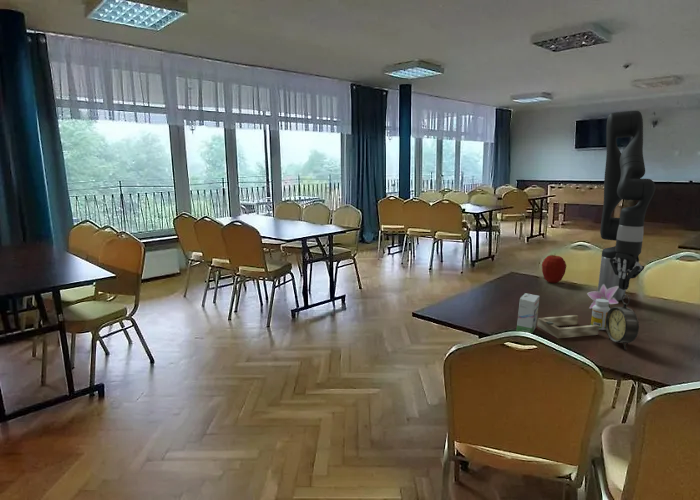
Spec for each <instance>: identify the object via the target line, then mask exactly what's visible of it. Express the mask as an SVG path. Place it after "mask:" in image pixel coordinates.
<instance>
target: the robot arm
mask: <svg viewBox="0 0 700 500" xmlns="http://www.w3.org/2000/svg"><path fill="white" fill-rule="evenodd" d="M620 138H631V140H630V141H629V143H628V144H627V146H626V147H624V150H623V151H622V152H621V151H620V148H619V146H618V144H617V139H620ZM643 146H644V117H643V115H642V112H641V111H640V110H625V111H615V112H610V114H608V116H607V120H606V157H605V169H604V170H605V171H604V181H603V206H602V214H601V223H600V231H599V232H600V237H601V239H603V240H607V241H615V246H611V247H605V248H603V249H602V251H601V256H600V257H601V259H600V266H599V277H598V285H597V291H600V288H601V286H602V285H603V284H604V285H605V287H606V288H607V289H609V288H611V287H615V286H619V287H618V289H617V290H616V292H615V293H614V295H613V296H612V297H613V298H615V299H616V300H617V301H618V302H619V301H622V296H623V295H624V294H626V290H628V289H629V287H630V281H631V280H632V279H636V278H637V277H638V276H639V275H640V274H641V273H642V271H644V270H645V266H644V265H642V264H641V263H640V257H639V255H641V253H642V248H643V240H644V232H645V231H644V225H645V217H646V214H647V209H648V208H649V204H650V203H651V201H652V198H653V197H654V194H655V191H656V184H655V182H654V181H653V180H652V179H650V178H643V177H644V176H645V175H646V166H645V165H646V164H645V161H644V152H643V151H644V148H643ZM622 200H625V201H638V202H636V203H637V204H636V205H632V206H627V207H622V208H621V210H620V214H619V215H620V216H619V217H612V214H613V212H614V210H615V209H616V207H617V206H618V205H619V203H620V202H621V201H622ZM624 299H626V295H624V297H623V300H624Z"/></svg>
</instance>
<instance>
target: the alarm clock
mask: <svg viewBox="0 0 700 500" xmlns="http://www.w3.org/2000/svg"><path fill="white" fill-rule="evenodd" d="M624 295H625V297H627V300H628V302H627V303H626V302H624V299H623V297H624ZM624 295H623V296H622V300H621V301H622V303H623V306H613V307H610V310H609V311H608V313H607V316H606V323H605V324H606V330H605V332H606V334H607V336H608V340H611V341H612V342H614V343H617V344H618V343H620V344H621V343H622V345H623V348H624V349H623V350H624V351H626V350H627V345H629V343H633V342H634V341H635V340H636V339H637V336H638V334H639V330H640V326H639V325H640V324H639V323H640V322H639V319H638V315H637V314H636V312H635V311H634V310H633V309H632V308H629V307H627V306H628V305H629V304H630V297H629V295H628V294H626V293H625V294H624Z"/></svg>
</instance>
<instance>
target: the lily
mask: <svg viewBox="0 0 700 500" xmlns="http://www.w3.org/2000/svg"><path fill="white" fill-rule="evenodd" d="M618 287H619V286H615V287H611V288H609V289H607V288H606V287H605V285H604V284H603V285H602V286H601V288H600V291H598V290H593V291H589V292H587V293H586V295H587V296H588V297H589V298H590V299H591V300H592V302H591V304H590V305H589V307H588V309H592V308H593V306H594V305H596V304H595V302H596V299H606V300H608V301H609V305H608V307H609V308H610V309H611V305H616V304H619V301H617V300H616V299H615V298H613V297H612V296H613V295H614V293H615V292H616V290H617V289H618Z"/></svg>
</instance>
